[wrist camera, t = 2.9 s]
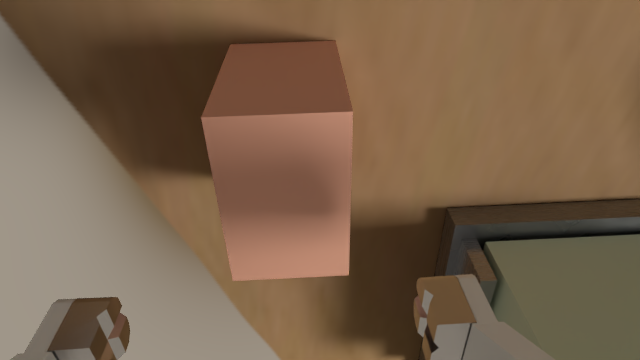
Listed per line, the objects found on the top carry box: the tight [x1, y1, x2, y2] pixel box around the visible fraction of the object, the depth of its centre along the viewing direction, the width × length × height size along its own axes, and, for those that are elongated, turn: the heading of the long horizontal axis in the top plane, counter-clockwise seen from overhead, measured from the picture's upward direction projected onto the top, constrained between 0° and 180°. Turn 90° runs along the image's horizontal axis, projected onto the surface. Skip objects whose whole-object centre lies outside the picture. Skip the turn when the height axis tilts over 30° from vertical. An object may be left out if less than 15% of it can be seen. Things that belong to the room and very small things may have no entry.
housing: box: [201, 41, 353, 281], centre depth 18 cm, size 4×7×7 cm, turn 1°
